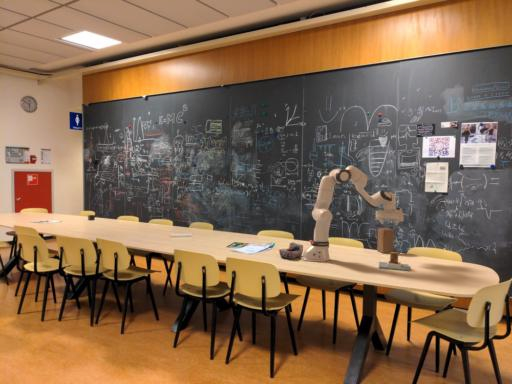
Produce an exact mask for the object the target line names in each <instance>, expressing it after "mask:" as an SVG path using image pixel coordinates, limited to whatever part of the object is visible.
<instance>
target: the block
mask: <svg viewBox="0 0 512 384" xmlns="http://www.w3.org/2000/svg"><path fill="white" fill-rule="evenodd" d="M394 239H395V230H394V229H393V228H388V227H379V228H377V243H376V244H377V245H376V250H377V252H379V253H381V254H390V252H394V241H395V240H394Z"/></svg>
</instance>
